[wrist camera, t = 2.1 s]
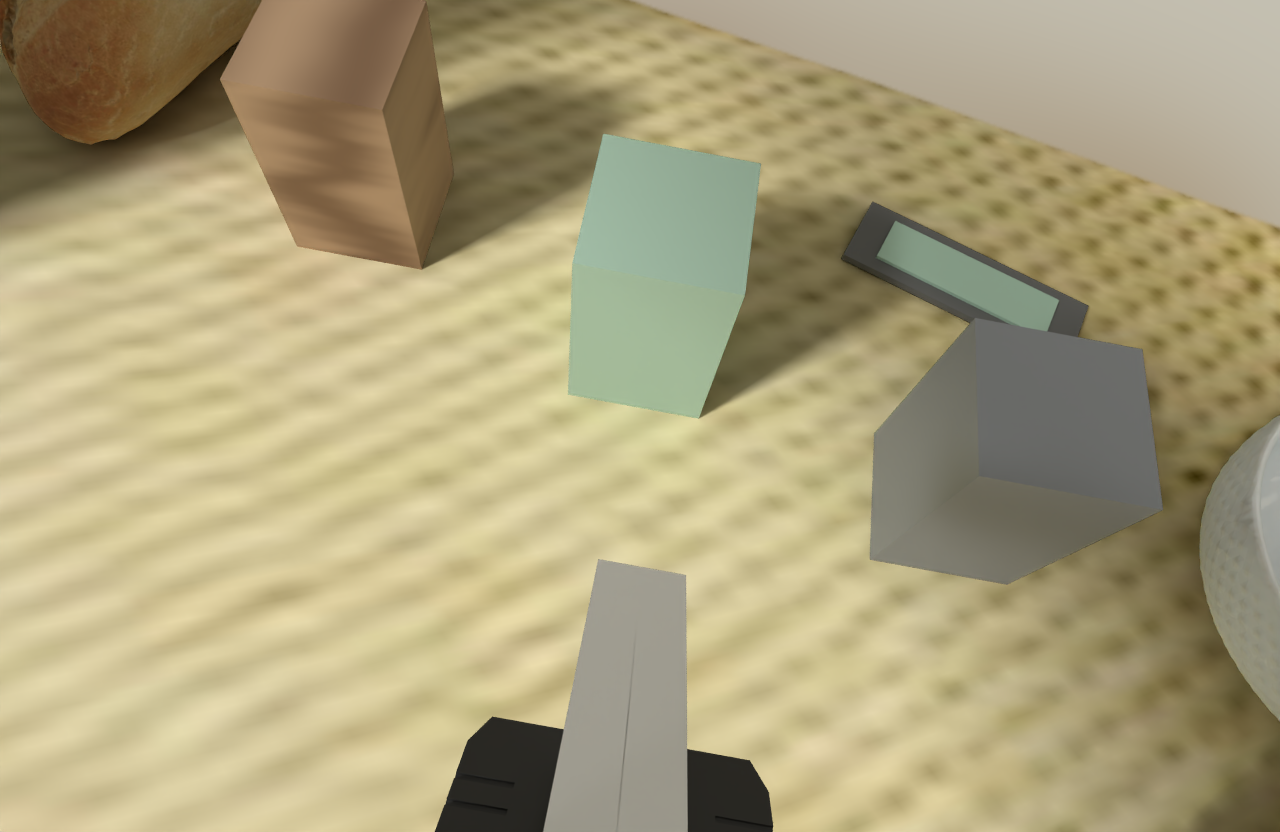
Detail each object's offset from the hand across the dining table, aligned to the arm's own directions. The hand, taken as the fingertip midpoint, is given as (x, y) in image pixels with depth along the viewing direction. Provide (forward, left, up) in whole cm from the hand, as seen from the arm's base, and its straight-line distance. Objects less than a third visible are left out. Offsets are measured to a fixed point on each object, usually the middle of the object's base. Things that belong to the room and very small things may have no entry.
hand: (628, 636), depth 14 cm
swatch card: (+6, +27, -19) cm, 34 cm away
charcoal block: (+9, +15, -19) cm, 26 cm away
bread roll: (-36, +17, -19) cm, 44 cm away
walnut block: (-21, +15, -19) cm, 32 cm away
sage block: (-6, +15, -19) cm, 25 cm away
